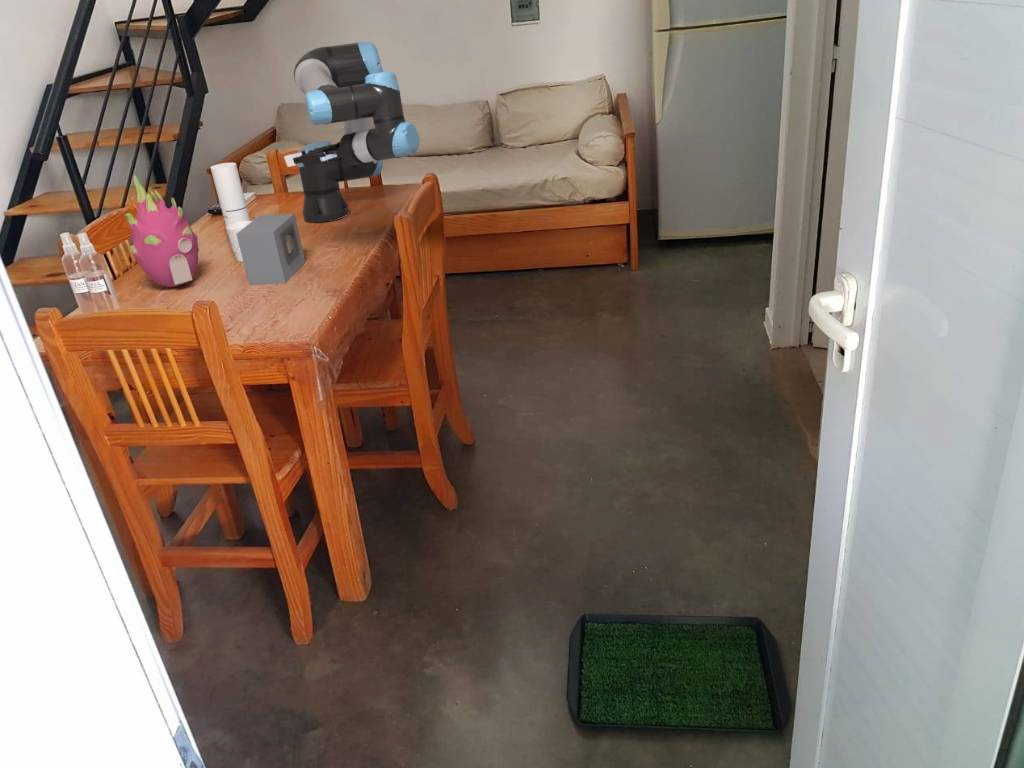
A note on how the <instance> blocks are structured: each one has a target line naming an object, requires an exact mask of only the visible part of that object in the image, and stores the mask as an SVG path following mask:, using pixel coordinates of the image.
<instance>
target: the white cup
mask: <svg viewBox="0 0 1024 768" xmlns="http://www.w3.org/2000/svg"><path fill="white" fill-rule="evenodd" d="M252 221H253V220H250V221H240V222H235V223H232V224H229V225H228V226H226V225H225V229H226V232H227V236H228V238H229V242H231V243H230V247H231V246H232V247H231V249H232V248H233V251H234V252H233V251H232V252H233V253H234V256H235V259H236V261H237V262H238V263H244V262H243V258H242V254H241V250H240V247H239V243H238V239H237V235H236V234H237V233H238V232H239V231H241V230H242V229H243V228H244V227H246V226H247V225H248V224H250V223H251V222H252Z"/></svg>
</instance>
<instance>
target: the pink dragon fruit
mask: <svg viewBox="0 0 1024 768" xmlns="http://www.w3.org/2000/svg"><path fill="white" fill-rule="evenodd" d="M133 183H134V186H135V190H136V193H137V196H136V197H137V199H136V206H137V208H136V209H137V211H136V215H135V217H134V216H133V214H131V213H128V212H127V213H126V214H125V215H124V216H125V219H126V220H127V223H128V226H129V228H130V233H131V234H130V235H131V240H132V241H131V242H132V245H130V246H129V249H130V252H131V254H132V256H133V257H134V259H135V261H136V262H137V263H138V264H139V266H140V267H141V269H142V270H143V272H144V273H145V274H146V275H147V276H148V277H149V279H151V280H152V281H154V282H155V283H157V284H159V285H161V286H163V287H169V288H175V287H176V288H177V287H180V286H182V285H184V284H186V283H188V282H190V281H193V276H194V274H195V272H196V270H197V266H198V263H199V251H200V249H199V242H198V238H199V237H198V234H197V233H194V231H193V229H192V228H191V225H190V223H189V221H188V220H187V219H186V218H185V215H184V212H183V209H182V207H180V206H177V202H176V201H175V198H174V197H171V198H170V199H171V200H170V203H171V204H172V205H171V207H170V208H169V207H167V205H166V202H165V200H164V198H163V197H162V195H161V194H160V193H159V192H158V191H157V190H155V189H154V190H151V188H150V187H148V190H149V193H150V194H149V193H147V191H146V189H145V188H144V187H143V185H142V184H141V183H140V181H139V179H138V177H137V175H134V176H133Z"/></svg>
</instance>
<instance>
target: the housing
mask: <svg viewBox="0 0 1024 768" xmlns="http://www.w3.org/2000/svg"><path fill="white" fill-rule="evenodd" d="M296 218H297V217H296V215H295V213H283V214H282V213H281V214H279V213H278V214H266V215H264V214H262V215H259V216H258V217H256V218H255V219H253V220H251V221H252V222H251V223H250V224H248V225H247V226H246V227H244V228H243V229H242V230H241V231H239V232H238V233H237V234H236V235H237V239H238V243H239V247H240V250H241V254H242V258H243V262H242V263H243V266H244V268H245V273H246V276H247V281H248V285H249V286H252V285H254V286H255V285H275V284H276V285H278V284H287V282H288V281H289V280H290V279H291V278H292V277H293V276H294V275H295V274H296V273H297V272H298V271H299V270H300V269H301V268H302V266H304V264H305V263H306V260H305V254H304V250H303V245H302V242H301V236H300V231H299V228H298V223H297V219H296ZM287 235H290V237H291V239H292V242H293V250H292V253H291V254H289V252H288V248H287V244H286V239H285V236H287ZM297 270H298V271H297Z"/></svg>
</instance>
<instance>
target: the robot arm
mask: <svg viewBox="0 0 1024 768" xmlns="http://www.w3.org/2000/svg"><path fill="white" fill-rule="evenodd" d="M293 79H294V83H295V84H296V86H297V87H298V89H299V90H300V91H301V92H302V93H303V94H304V95H305V107H306V110H307V114H308V119H309V120H310V123H311V125H313V126H314V125H315V126H317V125H318V126H319V125H325V126H326V125H329V124H335V123H342V122H343V130H344V131H343V132H344V133H343V134H344V135H342V137H341V138H340V141H339V142H337V143H333V144H332V142H331V141H329V140H324V141H323V140H322V141H317V142H313V143H309V144H307V145H305V146H302V147H300V148H299V149H298V150H297V152H296V153H292V154H286V155H285V156H283V159H284V161H285V164H286V166H287V167H288V168H289V167H295V166H297V168H298V171H299V175H300V181H301V185H302V190H303V196H304V199H303V205H302V217H303V220H304V221H305V222H308V223H313V222H319V223H326V222H325V221H329V222H332V221H331V220H334V221H336V220H335V219H338V218H341V217H343V216H345V215H347V214H348V213H349V214H350V207H349V205H348V203H347V202H346V199H345V198H344V196H343V194H342V192H341V189H340V184H339V183H340V182H346V181H353V180H355V181H356V180H360V179H367V178H368V179H369V178H372V177H376V176H378V175H380V174H381V173H382V170H383V165H384V161H385V160H391V159H398V158H403V157H407V156H411V155H414V154H415V153H416V152H417V151H418V149H419V147H420V135H419V132H418V131H417V128H416V126H415V125H414V124H413V123H411V122H407V121H406V118H405V115H404V110H403V104H402V97H401V91H400V87H399V83H398V79H397V76H396V74H395V73H394V72H392V71H383V66H382V63H381V59H380V55H379V52H378V49H377V47H376V44H374V43H373V42H370V41H366V42H365V41H364V42H362V41H358V42H353V43H346V44H337V45H330V46H321V47H316V48H314V49H311V50H309V51H308V52H306V53H305V54H303V55H302V56H301V57H300V58H299V60H298V61H297V62H296V63H295V66H294V70H293ZM373 125H374V128H373ZM347 216H348V215H347ZM341 219H342V218H341ZM338 220H339V219H338Z"/></svg>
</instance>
